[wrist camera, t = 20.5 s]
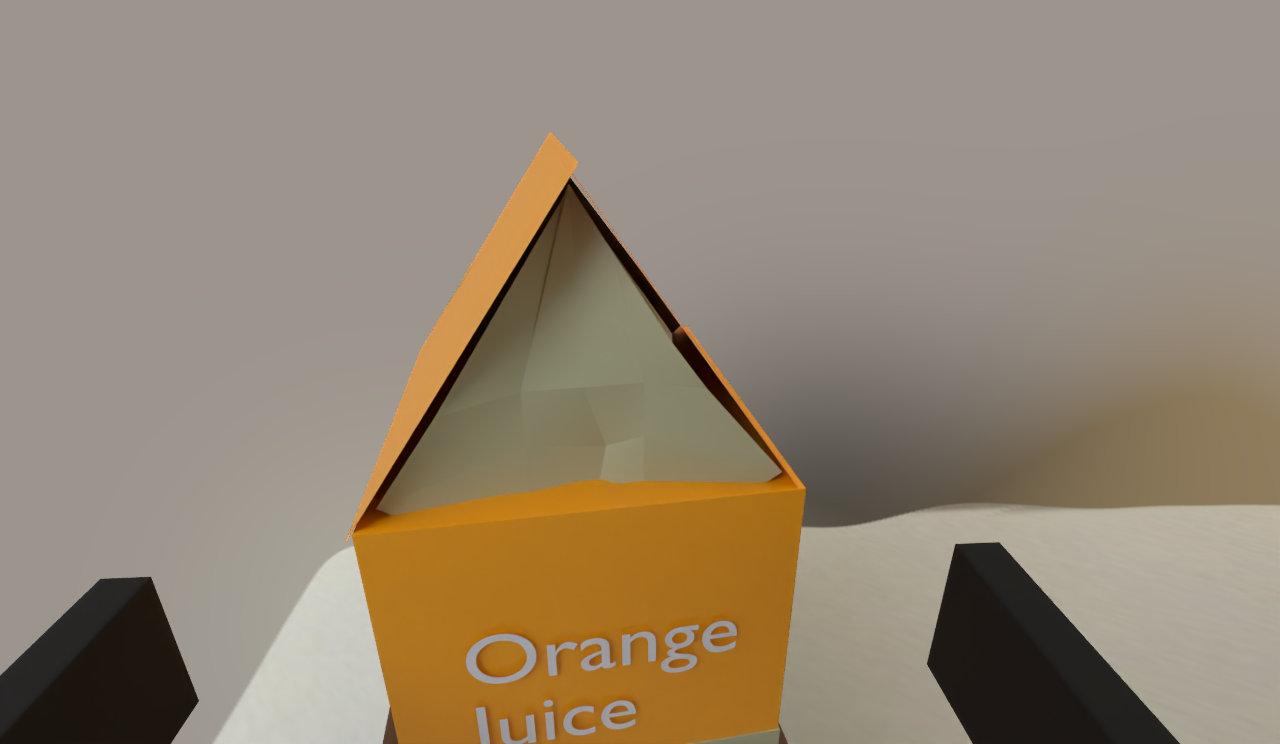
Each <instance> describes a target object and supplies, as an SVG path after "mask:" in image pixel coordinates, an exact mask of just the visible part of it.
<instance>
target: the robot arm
mask: <svg viewBox="0 0 1280 744" xmlns="http://www.w3.org/2000/svg"><path fill="white" fill-rule="evenodd" d="M927 665H928V667H929V669H930V670H931V672H932V674H933V676H934V677H935V679H936V681H937V682H938V684H939V686H940V688H941V689H942V691H943V693H944V695H945V696H946V698H947V700H948V702H949V703H950V705H951V707H952V708H953V710H954V712H955V714H956V715H957V717H958V719H959V721H960V722H961V724H962V726H963V728H964V729H965V731H966V733H967V734H968V736H969V738H970V740H971V741H972V743H973V744H1180V743H1179V742H1178V741H1177V740H1176V739H1175V738H1174V736H1173V735H1172V734H1171V733H1170V732H1169V731H1168V730H1167V729H1166V728H1165V726H1164V725H1163V724H1162V723H1161V722H1160V721H1159V720H1158V719H1157V717H1156V716H1155V715H1154V714H1153V713H1152V712H1151V711H1150V710H1149V709H1148V707H1147V706H1146V705H1145V704H1144V703H1143V702H1142V701H1141V700H1140V699H1139V697H1138V696H1137V695H1136V694H1135V693H1134V692H1133V691H1132V690H1131V689H1130V687H1129V686H1128V685H1127V684H1126V683H1125V682H1124V681H1123V680H1122V679H1121V677H1120V676H1119V675H1118V674H1117V673H1116V672H1115V671H1114V670H1113V668H1112V667H1111V666H1110V665H1109V664H1108V663H1107V662H1106V661H1105V660H1104V658H1103V657H1102V656H1101V655H1100V654H1099V653H1098V652H1097V651H1096V650H1095V648H1094V647H1093V646H1092V645H1091V644H1090V643H1089V642H1088V641H1087V640H1086V638H1085V637H1084V636H1083V635H1082V634H1081V633H1080V632H1079V631H1078V630H1077V628H1076V627H1075V626H1074V625H1073V624H1072V623H1071V622H1070V621H1069V619H1068V618H1067V617H1066V616H1065V615H1064V614H1063V613H1062V612H1061V611H1060V609H1059V608H1058V607H1057V606H1056V605H1055V604H1054V603H1053V602H1052V601H1051V599H1050V598H1049V597H1048V596H1047V595H1046V594H1045V593H1044V592H1043V591H1042V589H1041V588H1040V587H1039V586H1038V585H1037V584H1036V583H1035V582H1034V581H1033V579H1032V578H1031V577H1030V576H1029V575H1028V574H1027V573H1026V572H1025V570H1024V569H1023V568H1022V567H1021V566H1020V565H1019V564H1018V563H1017V562H1016V560H1015V559H1014V558H1013V557H1012V556H1011V555H1010V554H1009V553H1008V552H1007V550H1006V549H1005V548H1004V547H1003V546H1002V545H1001V544H1000V543H999V542H996V543H971V544H955V548H954V552H953V556H952V561H951V565H950V569H949V573H948V578H947V582H946V586H945V590H944V594H943V599H942V603H941V607H940V611H939V615H938V620H937V624H936V628H935V632H934V637H933V641H932V645H931V649H930V653H929V658H928V662H927ZM198 702H199V700H198V697H197V695H196V692H195V690H194V687H193V684H192V682H191V679H190V677H189V674H188V672H187V669H186V666H185V664H184V661H183V659H182V656H181V654H180V651H179V649H178V646H177V644H176V641H175V638H174V635H173V633H172V630H171V628H170V625H169V622H168V620H167V618H166V615H165V612H164V610H163V607H162V604H161V602H160V599H159V597H158V594H157V592H156V589H155V586H154V584H153V581H152V579H151V577H137V578H112V579H100V580H99V581H98V582H97V583H96V584H95V585H94V586H93V587H92V588H91V589H90V590H89V591H88V592H86V593H85V594H84V595H83V596H82V597H81V598H80V599H79V600H78V601H77V602H76V603H75V604H74V605H73V606H72V607H71V608H70V609H69V610H68V611H67V612H66V613H65V614H64V615H63V616H62V617H61V618H60V619H58V620H57V621H56V622H55V623H54V624H53V625H52V626H51V627H50V628H49V629H48V630H47V631H46V632H45V633H44V634H43V635H42V636H41V637H40V638H39V639H38V640H37V641H36V642H35V643H34V644H33V645H32V646H31V647H30V648H28V649H27V650H26V651H25V652H24V653H23V654H22V655H21V656H20V657H19V658H18V659H17V660H16V661H15V662H14V663H13V664H12V665H11V666H10V667H9V668H8V669H7V670H6V671H5V672H4V673H2V674H1V676H0V744H171V742H172V741H173V739H174V738H175V736H176V735H177V733H178V732H179V730H180V729H181V727H182V726H183V724H184V723H185V721H186V720H187V718H188V717H189V715H190V714H191V712H192V711H193V709H194V708H195V706H196V705H197V703H198Z"/></svg>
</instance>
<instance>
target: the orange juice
mask: <svg viewBox="0 0 1280 744" xmlns="http://www.w3.org/2000/svg"><path fill="white" fill-rule="evenodd" d="M577 165H578V162H577V160H576V159H575V158H574V157H573V156H572V155H571V154H570V153H569V152H568V151H567V149H566V148H565V147H564V146H563V145H562V144H561V143H560V142H559V141H558V139H557V138H556V137H555V136H554V135H553V134H552V133H551V132H550V133H549V134H548V136H547V138H546V139H545V141H544V143H543V144H542V146H541V148H540V150H539V151H538V153H537V155H536V156H535V158H534V160H533V161H532V163H531V165H530V166H529V168H528V170H527V171H526V173H525V175H524V176H523V178H522V180H521V181H520V183H519V185H518V187H517V188H516V190H515V192H514V193H513V195H512V197H511V198H510V200H509V202H508V203H507V205H506V207H505V208H504V210H503V212H502V213H501V215H500V217H499V219H498V220H497V222H496V224H495V225H494V227H493V229H492V230H491V232H490V234H489V235H488V237H487V239H486V240H485V242H484V244H483V245H482V247H481V249H480V251H479V252H478V254H477V255H476V257H475V259H474V261H473V262H472V264H471V266H470V267H469V269H468V271H467V273H466V274H465V276H464V277H463V279H462V281H461V282H460V284H459V286H458V287H457V289H456V291H455V292H454V294H453V296H452V297H451V299H450V301H449V303H448V304H447V306H446V308H445V309H444V311H443V313H442V314H441V316H440V318H439V319H438V321H437V323H436V324H435V326H434V328H433V329H432V331H431V333H430V335H429V336H428V338H427V340H426V342H425V343H424V345H423V346H422V348H421V350H420V353H419V355H418V358H417V361H416V363H415V366H414V368H413V371H412V373H411V376H410V378H409V381H408V383H407V386H406V388H405V391H404V394H403V396H402V399H401V401H400V404H399V406H398V409H397V411H396V414H395V417H394V419H393V422H392V424H391V427H390V430H389V432H388V434H387V437H386V440H385V442H384V445H383V447H382V450H381V453H380V455H379V457H378V460H377V463H376V465H375V468H374V470H373V473H372V475H371V478H370V480H369V483H368V486H367V488H366V491H365V493H364V496H363V499H362V501H361V504H360V506H359V509H358V511H357V514H356V516H355V519H354V521H353V524H352V526H351V529H350V532H349V534H348V537H349V536H350V534H351V532H352V531H353V529H354V528H355V526H356V528H355V530H354V533H353V536H352V538H353V542H354V547H355V551H356V556H357V560H358V565H359V569H360V574H361V578H362V583H363V587H364V592H365V596H366V600H367V605H368V609H369V614H370V618H371V623H372V627H373V632H374V636H375V641H376V645H377V650H378V654H379V659H380V663H381V668H382V672H383V677H384V681H385V685H386V690H387V694H388V699H389V703H390V708H391V712H392V717H393V721H394V726H395V730H396V735H397V739H398V744H778V743H779V735H780V729H779V726H778V721H779V713H780V705H781V696H782V688H783V679H784V671H785V662H786V654H787V645H788V637H789V628H790V620H791V611H792V603H793V594H794V586H795V577H796V569H797V560H798V552H799V544H800V535H801V527H802V517H803V510H804V501H805V492H806V488H805V487H804V485H803V484H802V482H801V481H800V480H799V478H798V477H797V476H796V474H795V473H794V472H793V470H792V469H791V467H790V466H789V465H788V464H787V462H786V461H785V459H784V458H783V457H782V455H781V454H780V452H779V451H778V450H777V448H776V447H775V446H774V444H773V443H772V442H771V440H770V439H769V437H768V436H767V435H766V433H765V432H764V431H763V429H762V428H761V426H760V425H759V424H758V422H757V421H756V420H755V418H754V417H753V416H752V414H751V413H750V411H749V410H748V409H747V407H746V406H745V405H744V403H743V402H742V401H741V399H740V398H739V396H738V395H737V394H736V392H735V391H734V390H733V388H732V387H731V385H730V384H729V383H728V382H727V380H726V379H725V377H724V376H723V375H722V373H721V372H720V370H719V369H718V368H717V366H716V365H715V364H714V362H713V361H712V360H711V358H710V357H709V356H708V354H707V353H706V351H705V350H704V349H703V347H702V346H701V345H700V343H699V342H698V340H697V339H696V338H695V336H694V335H693V334H692V332H691V331H690V329H689V328H688V327H687V326H686V327H683V326H682V325H681V323H680V322H679V320H678V319H677V318H676V316H675V315H674V313H673V312H672V311H671V309H670V308H669V306H668V305H667V304H666V302H665V301H664V300H663V298H662V297H661V295H660V294H659V293H658V291H657V290H656V288H655V287H654V286H653V284H652V283H651V281H650V280H649V279H648V277H647V276H646V275H645V273H644V272H643V270H642V269H641V268H640V266H639V265H638V263H637V262H636V261H635V259H634V258H633V256H632V255H631V254H630V252H629V251H628V250H627V248H626V247H625V245H624V244H623V243H622V242H621V240H620V238H619V237H618V236H617V234H616V233H615V232H614V230H613V229H612V228H611V226H610V225H609V223H608V222H607V220H606V219H605V218H604V216H603V215H602V214H601V212H600V211H599V209H598V208H597V207H596V205H595V204H594V202H593V201H592V200H591V198H590V197H589V196H588V194H587V193H586V191H585V190H584V189H583V187H582V186H581V184H580V183H579V182H578V180H577V179H576V178H575V176H574V175H573V171H574V170H575V168H576V166H577ZM571 175H572V176H573V177H574V178H575V180H576V181H577V183H578V184H579V185H580V187H581V188H582V190H583V191H584V192H585V194H586V195H587V197H588V198H589V199H590V201H591V202H592V203H593V205H594V206H595V207H596V209H597V210H598V212H599V213H600V214H601V216H602V217H603V218H604V220H605V221H606V223H607V224H608V225H609V227H610V228H611V230H612V231H613V232H614V234H615V235H616V237H617V238H618V239H619V241H620V242H621V244H622V245H623V246H624V247H625V249H626V250H627V252H628V253H629V254H628V253H627V252H626V251H625V249H624V248H623V247H622V245H621V244H620V243H619V241H618V240H617V239H616V237H615V236H614V235H613V233H612V232H611V231H610V229H609V228H608V227H607V226H606V224H605V223H604V222H603V220H602V219H601V218H600V216H599V215H598V214H597V212H596V211H595V210H594V208H593V207H592V206H591V204H590V203H589V202H588V200H587V199H586V198H585V197H584V195H583V194H582V193H581V191H580V190H579V189H578V187H577V186H576V185H575V183H574V182H573V181H572V179H571V178H570V176H571ZM629 255H630V256H631V257H632V258H631V257H630V256H629ZM632 259H633V260H634V261H633V260H632ZM635 263H636V264H637V265H636V264H635ZM638 267H639V268H640V269H639V268H638ZM641 271H642V272H641ZM644 275H645V276H644ZM646 278H647V279H646ZM649 282H650V283H649ZM652 286H653V287H652ZM654 289H655V290H654ZM657 293H658V294H657ZM660 297H661V298H660ZM662 300H663V301H662ZM665 304H666V305H665ZM667 307H668V308H667ZM670 311H671V312H670ZM673 315H674V316H673ZM675 318H676V319H675ZM678 322H679V323H678ZM680 325H681V327H680ZM356 524H357V525H356ZM348 537H347V539H348Z"/></svg>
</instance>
